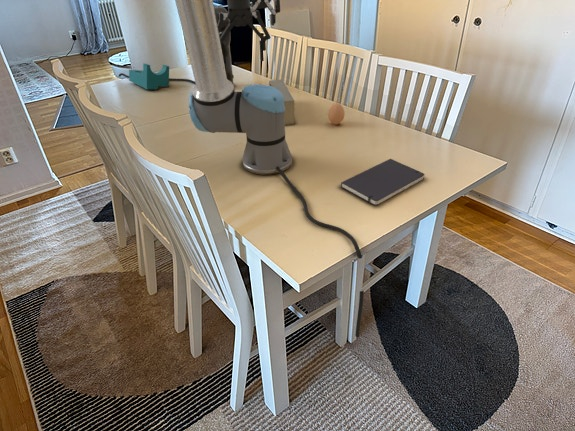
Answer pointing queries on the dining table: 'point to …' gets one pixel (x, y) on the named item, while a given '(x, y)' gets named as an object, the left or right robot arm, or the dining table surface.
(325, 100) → the dining table surface
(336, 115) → the egg
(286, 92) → the bar
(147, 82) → the teal notched block
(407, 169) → the notebook
